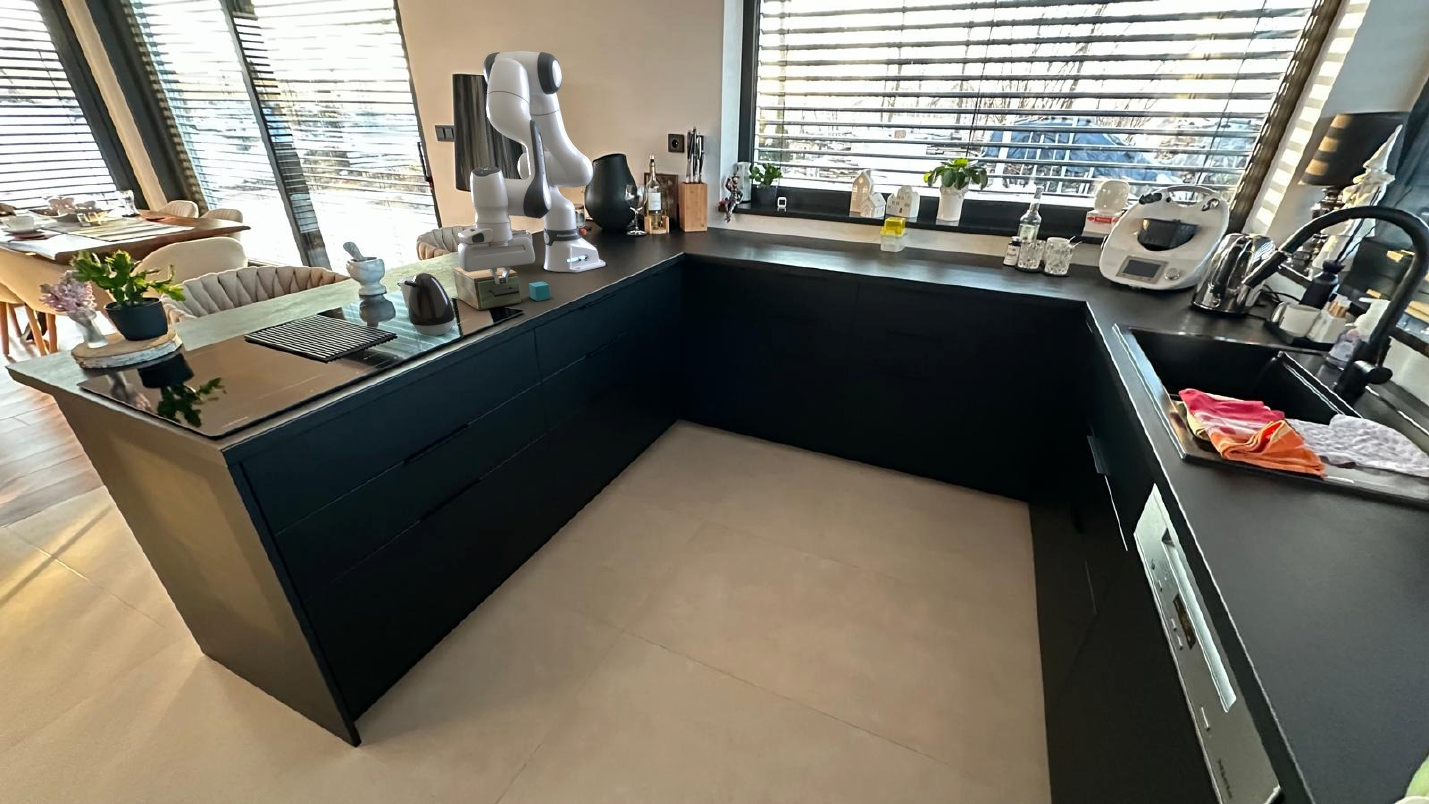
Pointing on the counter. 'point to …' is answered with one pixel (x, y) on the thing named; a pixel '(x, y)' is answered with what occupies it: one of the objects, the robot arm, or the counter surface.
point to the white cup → (406, 290)
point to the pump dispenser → (429, 305)
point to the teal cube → (539, 291)
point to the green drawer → (498, 292)
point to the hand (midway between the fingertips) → (501, 283)
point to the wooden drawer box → (474, 285)
